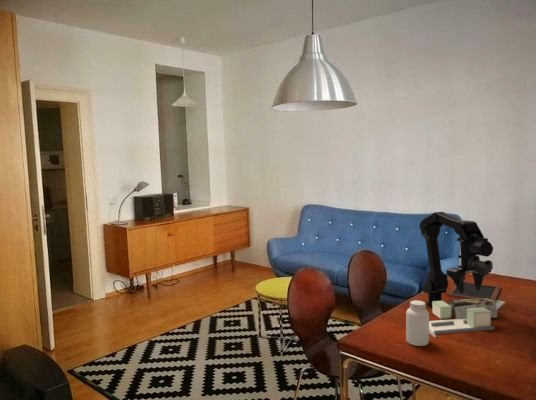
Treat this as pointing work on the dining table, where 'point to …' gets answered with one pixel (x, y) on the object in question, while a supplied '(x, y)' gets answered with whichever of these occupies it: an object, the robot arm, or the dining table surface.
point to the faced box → (478, 317)
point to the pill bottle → (417, 324)
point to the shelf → (453, 327)
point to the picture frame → (475, 291)
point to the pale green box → (441, 309)
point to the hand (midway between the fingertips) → (469, 291)
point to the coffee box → (471, 306)
